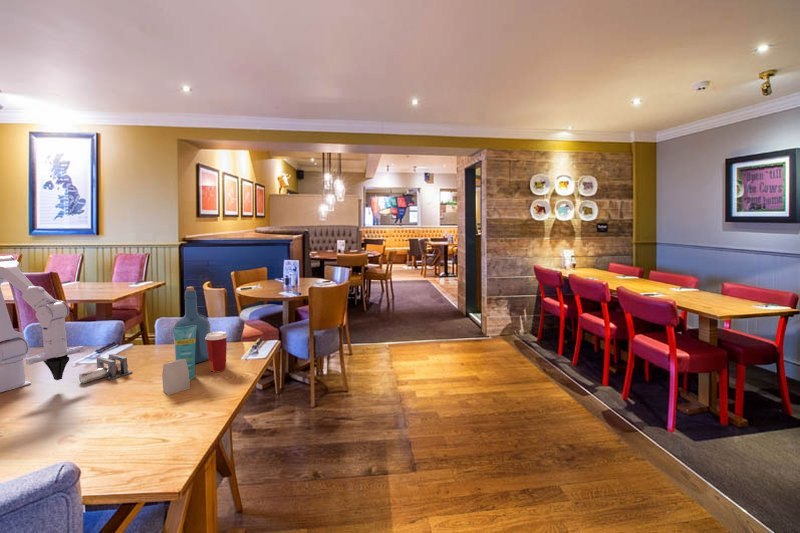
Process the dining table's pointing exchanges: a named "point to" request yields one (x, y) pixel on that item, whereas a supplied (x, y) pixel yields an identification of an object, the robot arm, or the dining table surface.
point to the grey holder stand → (110, 367)
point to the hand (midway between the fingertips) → (58, 379)
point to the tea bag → (175, 376)
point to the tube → (186, 346)
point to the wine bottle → (195, 319)
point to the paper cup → (216, 350)
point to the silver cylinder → (98, 374)
